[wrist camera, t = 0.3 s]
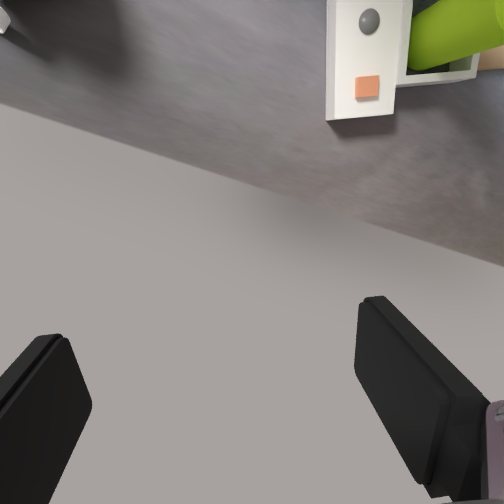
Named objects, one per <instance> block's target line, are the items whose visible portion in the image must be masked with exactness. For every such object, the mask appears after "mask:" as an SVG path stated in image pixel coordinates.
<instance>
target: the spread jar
mask: <svg viewBox="0 0 504 504" xmlns="http://www.w3.org/2000/svg"><path fill="white" fill-rule="evenodd" d="M10 22H11V20H10V18H9V16H8V14H7V13H6V12H5V10H4V9H3V8H2V7H1V6H0V33H4V32H5V31H6V29H7V27H8V25H9V24H10Z"/></svg>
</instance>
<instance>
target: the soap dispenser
mask: <svg viewBox="0 0 504 504" xmlns="http://www.w3.org/2000/svg"><path fill="white" fill-rule="evenodd" d="M502 45H504V0H440V1H438V2H436V3H435V4H433V5H431V6H430V7H428V8H426V9H425V10H423V11H422V12H420V13H418V14H417V15H415V16H414V17H413V18H412V19H411V27H410V38H409V48H408V59H407V66H408V67H409V68H411V69H413V70H417V71H421V70H426V69H429V68H432V67H435V66H439V65H442V64H445V63H448V62H451V61H454V60H458V59H461V58H464V57H467V56H470V55H473V54H477V53H480V52H483V51H486V50H489V49H492V48H495V47H499V46H502Z"/></svg>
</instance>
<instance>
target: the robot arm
mask: <svg viewBox="0 0 504 504" xmlns="http://www.w3.org/2000/svg"><path fill="white" fill-rule="evenodd" d="M354 369H355V373H356V376H357V378H358V380H359V382H360V383H361V385H362V387H363V389H364V390H365V392H366V394H367V396H368V398H369V399H370V401H371V403H372V405H373V406H374V408H375V410H376V412H377V414H378V416H379V417H380V419H381V421H382V423H383V424H384V426H385V428H386V430H387V432H388V433H389V435H390V437H391V439H392V441H393V442H394V444H395V446H396V448H397V449H398V451H399V453H400V455H401V457H402V458H403V460H404V462H405V464H406V466H407V467H408V469H409V471H410V473H411V474H412V476H413V478H414V479H415V481H416V482H417V483H418V484H423V485H424V487H425V488H426V490H427V492H428V494H429V496H430V497H431V498H436V497H443V496H449V497H450V498H451V500H452V501H453V502H451V503H444V504H504V400H500V401H496V402H492V403H490V402H489V401H488V400H487V399H486V398H485V397H484V396H483V395H482V393H481V392H480V391H479V390H478V389H477V388H476V387H475V386H474V385H473V384H472V383H471V382H470V381H469V380H468V379H467V378H466V377H465V376H464V375H463V374H462V373H461V372H460V371H459V370H458V369H457V368H456V367H455V366H454V365H453V364H452V363H451V362H450V361H449V360H448V359H447V358H446V357H445V356H444V355H443V354H442V353H441V352H440V351H439V350H438V349H437V348H436V347H435V346H434V345H433V344H432V343H431V342H430V341H429V340H428V339H427V338H426V337H425V336H424V335H423V334H422V333H421V332H420V331H419V330H418V329H417V328H416V327H415V326H414V325H413V324H412V323H411V322H410V321H409V320H408V319H407V318H406V317H405V316H404V315H403V314H402V313H401V312H400V311H399V310H398V309H397V308H396V307H395V306H394V305H393V304H392V303H391V302H390V301H389V300H388V299H387V298H386V297H384V296H375V297H367V298H365V299H364V301H363V302H362V303H360V304H359V310H358V322H357V335H356V348H355V361H354ZM91 409H92V400H91V397H90V394H89V392H88V389H87V386H86V384H85V381H84V379H83V376H82V373H81V371H80V368H79V365H78V363H77V360H76V358H75V355H74V352H73V350H72V347H71V345H70V342H69V340H68V339H67V338H63V336H62V335H61V334H50V335H42V336H38V337H36V338H35V339H34V340H33V341H32V342H31V343H30V344H29V346H28V347H27V348H26V349H25V350H24V351H23V352H22V353H21V354H20V356H19V357H18V358H17V359H16V360H15V361H14V362H13V363H12V364H11V366H10V367H9V368H8V369H7V370H6V371H5V372H4V374H3V375H2V376H1V377H0V504H49V502H50V500H51V497H52V495H53V493H54V491H55V489H56V487H57V484H58V482H59V480H60V478H61V476H62V474H63V471H64V469H65V467H66V465H67V463H68V461H69V459H70V456H71V454H72V452H73V450H74V448H75V446H76V443H77V441H78V439H79V437H80V435H81V432H82V430H83V428H84V426H85V424H86V422H87V420H88V417H89V415H90V412H91Z"/></svg>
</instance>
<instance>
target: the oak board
mask: <svg viewBox="0 0 504 504" xmlns="http://www.w3.org/2000/svg"><path fill="white" fill-rule="evenodd" d="M496 69H504V45H502V46H499V47H495V48H492V49H489V50H486V51H483V52H480V57H479V62H478V68H477V71H485V70H496Z"/></svg>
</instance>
